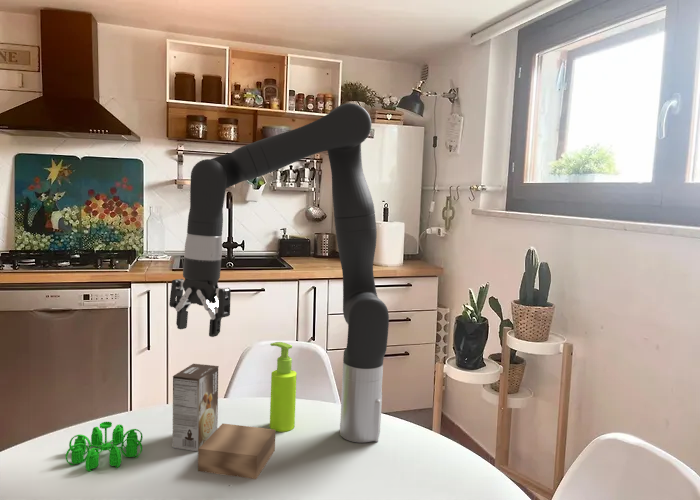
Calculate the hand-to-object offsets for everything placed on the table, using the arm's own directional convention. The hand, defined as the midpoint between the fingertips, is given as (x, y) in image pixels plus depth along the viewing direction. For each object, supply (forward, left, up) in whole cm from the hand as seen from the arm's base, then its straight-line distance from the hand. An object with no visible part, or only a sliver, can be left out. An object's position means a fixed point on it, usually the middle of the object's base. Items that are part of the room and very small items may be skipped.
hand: (197, 332), depth 113 cm
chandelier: (+16, +8, -26) cm, 31 cm away
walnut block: (-11, +4, -26) cm, 28 cm away
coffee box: (+1, -2, -25) cm, 25 cm away
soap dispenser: (-15, -14, -25) cm, 33 cm away
